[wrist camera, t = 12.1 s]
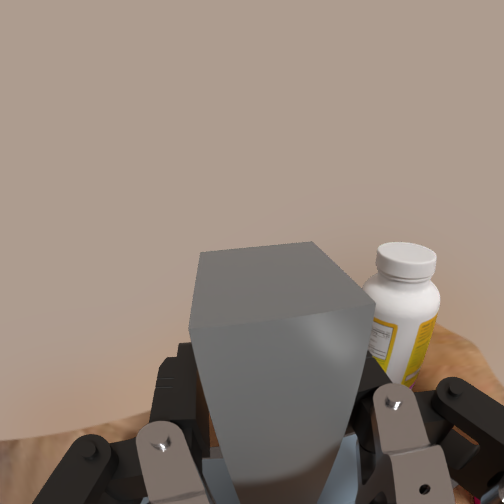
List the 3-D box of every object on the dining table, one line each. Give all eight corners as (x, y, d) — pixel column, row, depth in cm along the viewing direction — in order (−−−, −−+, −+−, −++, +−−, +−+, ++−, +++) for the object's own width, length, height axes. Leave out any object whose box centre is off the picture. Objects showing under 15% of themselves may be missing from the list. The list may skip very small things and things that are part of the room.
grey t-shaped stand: (164, 538, 9) (-36, 330, 3) (165, 491, 12) (39, 266, 7) (387, 504, 10) (529, 266, 4) (368, 462, 14) (446, 226, 8)
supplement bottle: (409, 359, 24) (436, 240, 20) (415, 406, 18) (462, 271, 14) (348, 356, 26) (362, 235, 22) (343, 404, 20) (367, 266, 16)
